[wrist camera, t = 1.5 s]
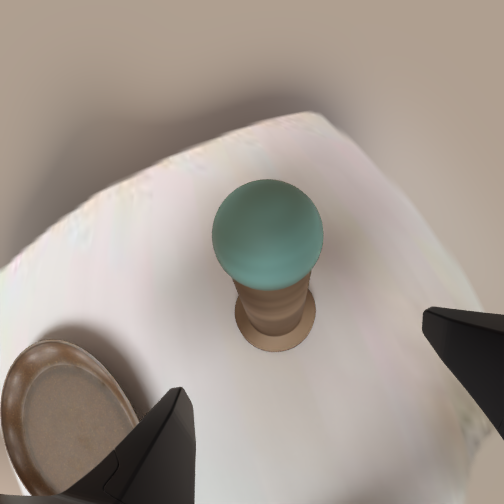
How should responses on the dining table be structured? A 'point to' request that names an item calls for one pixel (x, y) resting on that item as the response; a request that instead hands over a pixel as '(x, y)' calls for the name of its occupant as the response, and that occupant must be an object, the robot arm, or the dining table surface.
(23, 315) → the dining table surface
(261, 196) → the bead column
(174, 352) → the dining table surface
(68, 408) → the plant saucer
